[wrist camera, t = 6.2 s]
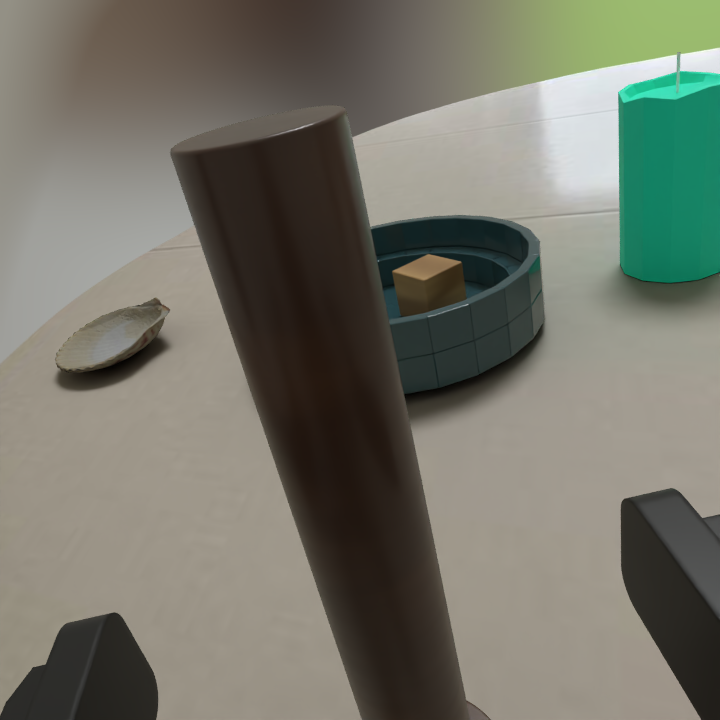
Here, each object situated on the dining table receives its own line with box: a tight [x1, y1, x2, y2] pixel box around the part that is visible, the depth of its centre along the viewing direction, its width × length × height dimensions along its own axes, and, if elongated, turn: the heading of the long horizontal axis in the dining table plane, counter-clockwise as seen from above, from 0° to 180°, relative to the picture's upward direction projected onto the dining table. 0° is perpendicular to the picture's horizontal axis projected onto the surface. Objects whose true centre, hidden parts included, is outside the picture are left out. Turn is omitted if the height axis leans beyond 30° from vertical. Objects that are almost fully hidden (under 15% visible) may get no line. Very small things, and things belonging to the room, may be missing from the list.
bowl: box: [370, 215, 544, 394], centre depth 37 cm, size 16×16×4 cm
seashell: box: [55, 298, 170, 372], centre depth 43 cm, size 8×3×8 cm
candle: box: [618, 52, 720, 283], centre depth 36 cm, size 6×6×12 cm
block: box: [392, 254, 467, 317], centre depth 38 cm, size 3×3×3 cm
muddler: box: [171, 106, 491, 720], centre depth 11 cm, size 4×4×16 cm
